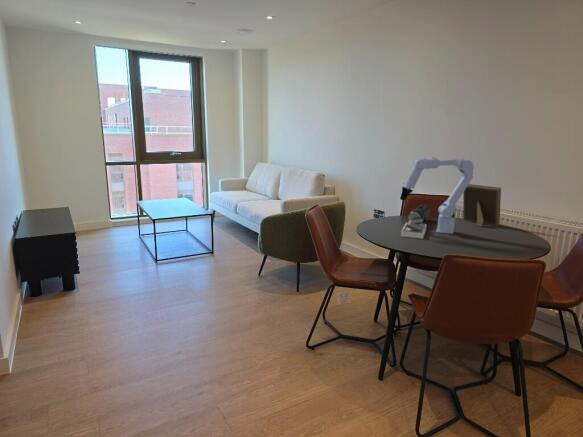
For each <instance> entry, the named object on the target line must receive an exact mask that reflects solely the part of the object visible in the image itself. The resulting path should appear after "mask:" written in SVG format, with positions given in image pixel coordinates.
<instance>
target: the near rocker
mask: <svg viewBox="0 0 583 437" xmlns="http://www.w3.org/2000/svg"><path fill="white" fill-rule="evenodd" d="M407 222H408V223H407V225H406V227H407V228H410V229H413V230H416V231H418V232H420V230H421V227H422V226H420V225H417V224H414V223H412V222H409V221H408V220H407Z"/></svg>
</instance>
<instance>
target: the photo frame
mask: <svg viewBox="0 0 583 437" xmlns="http://www.w3.org/2000/svg"><path fill="white" fill-rule="evenodd" d="M462 195H463V197H462V198H463V201H462V202H463V203H462V204H463V207H462V208H463V211H462V212H463V215H462V216H463V217H462V221H466V222H472V223H476V222H477V223H476V225H477V226H479V227H482V228H483V225H487V224H489V226H493V225H498V226H499V225H500V222H501V199H502V198H501V197H502V187H498V186H491V185H490V186H489V185H483V184H481V185H480V184H473V183H472V184H471V183H469V184H468V186H467V187H466V189H465V191H464V192H463V194H462ZM483 223H484V224H483Z"/></svg>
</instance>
